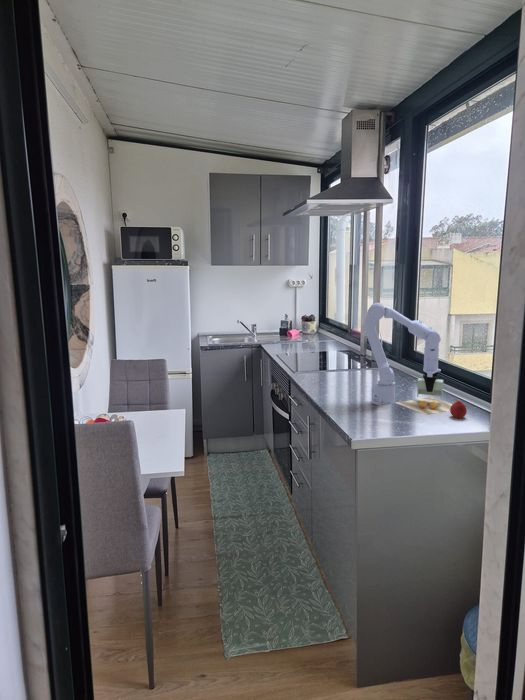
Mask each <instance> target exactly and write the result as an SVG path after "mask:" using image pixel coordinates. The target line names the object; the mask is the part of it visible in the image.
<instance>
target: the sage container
mask: <svg viewBox="0 0 525 700" xmlns="http://www.w3.org/2000/svg"><path fill="white" fill-rule="evenodd" d="M443 389H444V379H439V378H437V379H436V381H435V383H434V387H433V391H432V392H427V390H426V384H425V380H424V378H423V377H422V378H421V377H420V378H417V390H416V392H417V393H416V397H419V395H424V396H425V395H427V396H439V397H441V398H440V400H441V399H443Z"/></svg>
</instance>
